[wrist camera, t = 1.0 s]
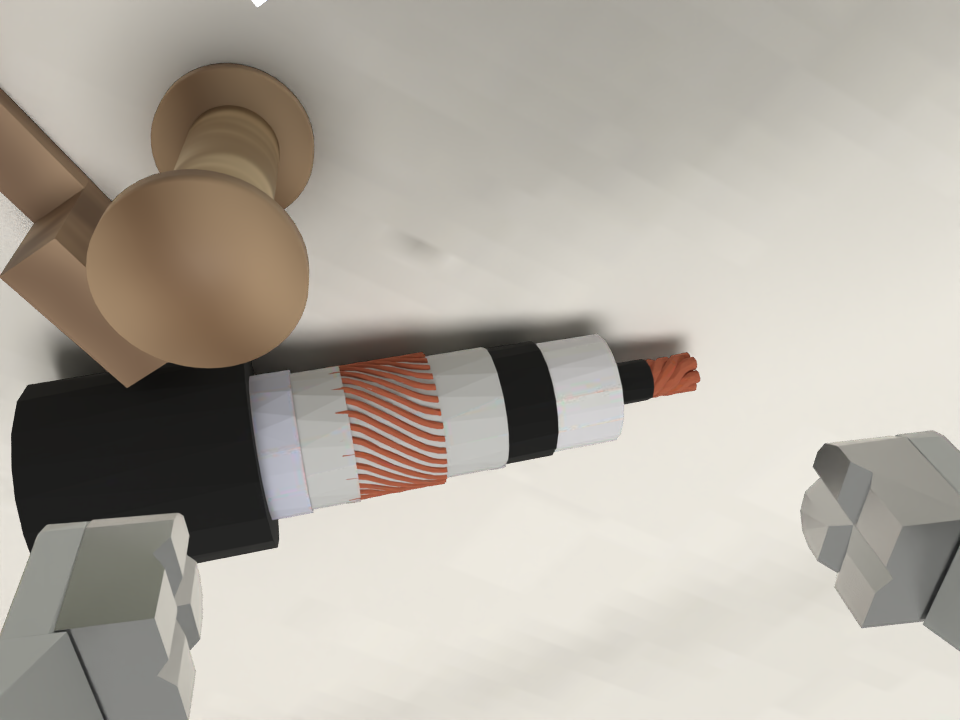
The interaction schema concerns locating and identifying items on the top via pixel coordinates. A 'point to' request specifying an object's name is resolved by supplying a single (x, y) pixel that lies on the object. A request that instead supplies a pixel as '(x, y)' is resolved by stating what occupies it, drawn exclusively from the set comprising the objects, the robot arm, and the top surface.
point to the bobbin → (210, 224)
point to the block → (258, 2)
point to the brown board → (59, 242)
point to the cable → (310, 433)
